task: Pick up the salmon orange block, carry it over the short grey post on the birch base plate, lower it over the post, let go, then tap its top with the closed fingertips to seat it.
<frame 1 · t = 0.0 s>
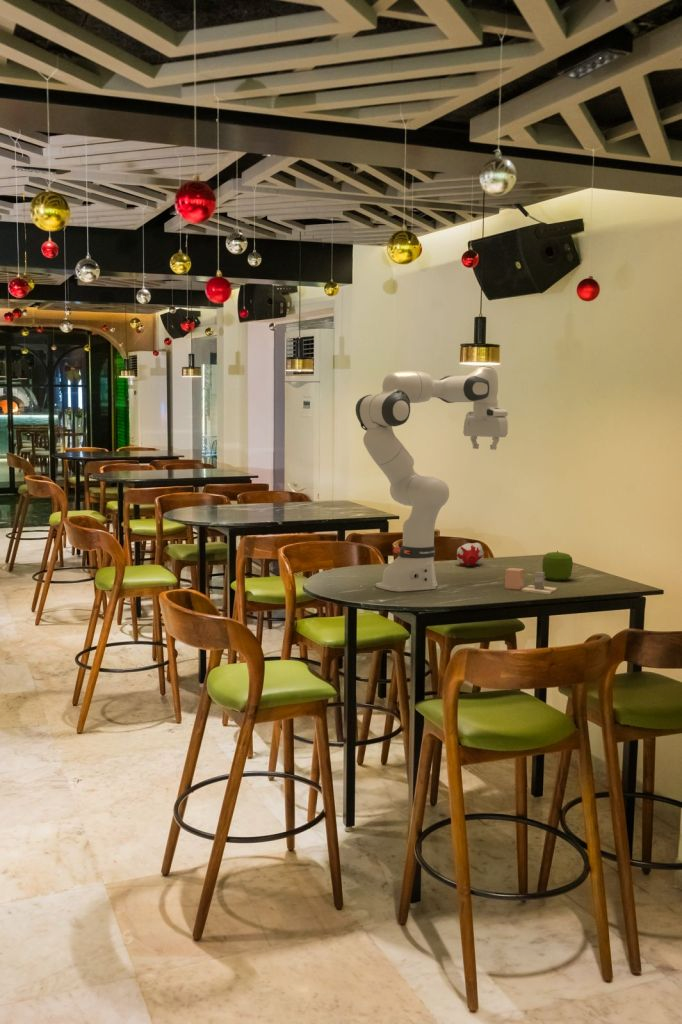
hand: (484, 449, 339), 48 cm above the table, fingers open, 8 cm apart
post stand: (539, 590, 318), on the table
salmon orange block: (514, 587, 323), on the table
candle: (470, 566, 371), on the table
apple: (557, 579, 341), on the table
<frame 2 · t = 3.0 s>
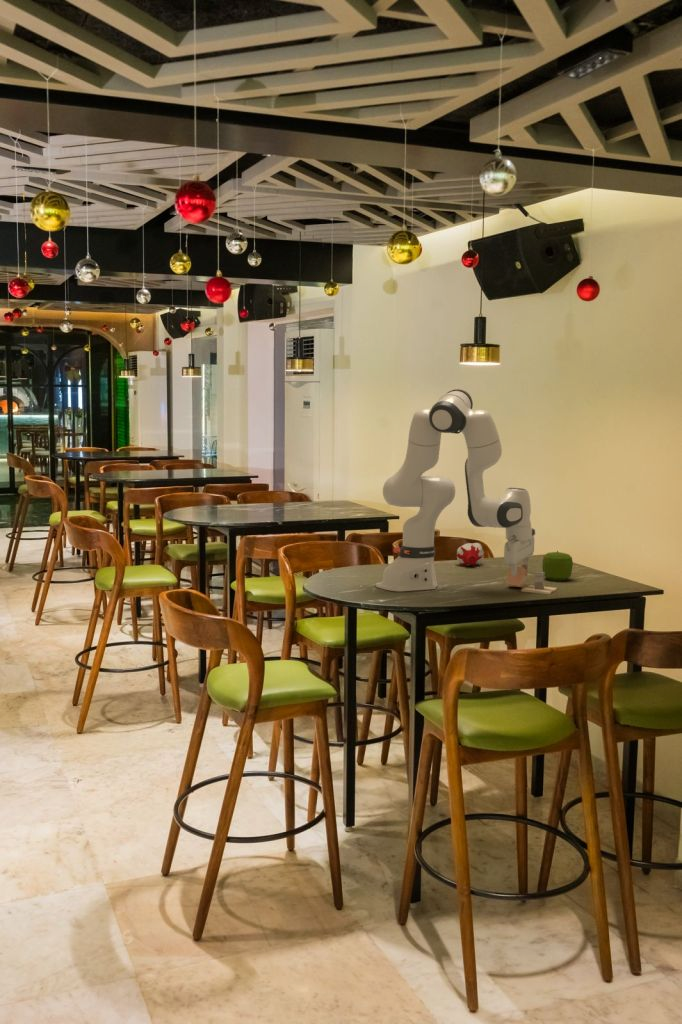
hand: (519, 572, 321), 6 cm above the table, fingers open, 8 cm apart
salmon orange block: (514, 585, 323), point 1 cm above the table, tilted 17°
everything else where it was.
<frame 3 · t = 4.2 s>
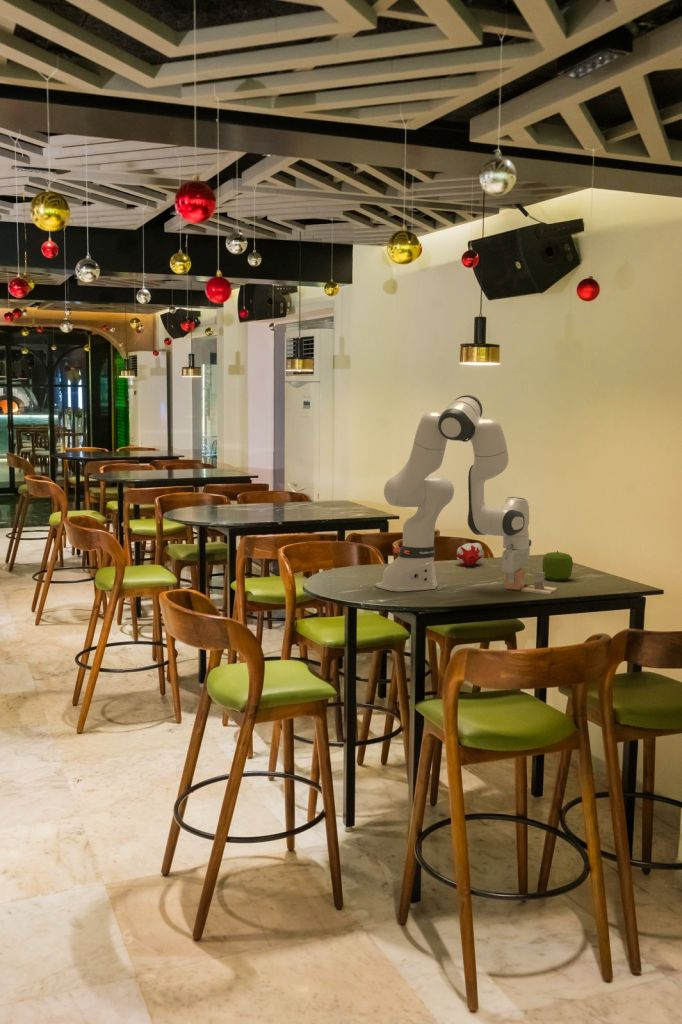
hand: (514, 581, 323), 2 cm above the table, fingers closed on salmon orange block, 5 cm apart
salmon orange block: (514, 587, 323), on the table, touching gripper
everything else where it was.
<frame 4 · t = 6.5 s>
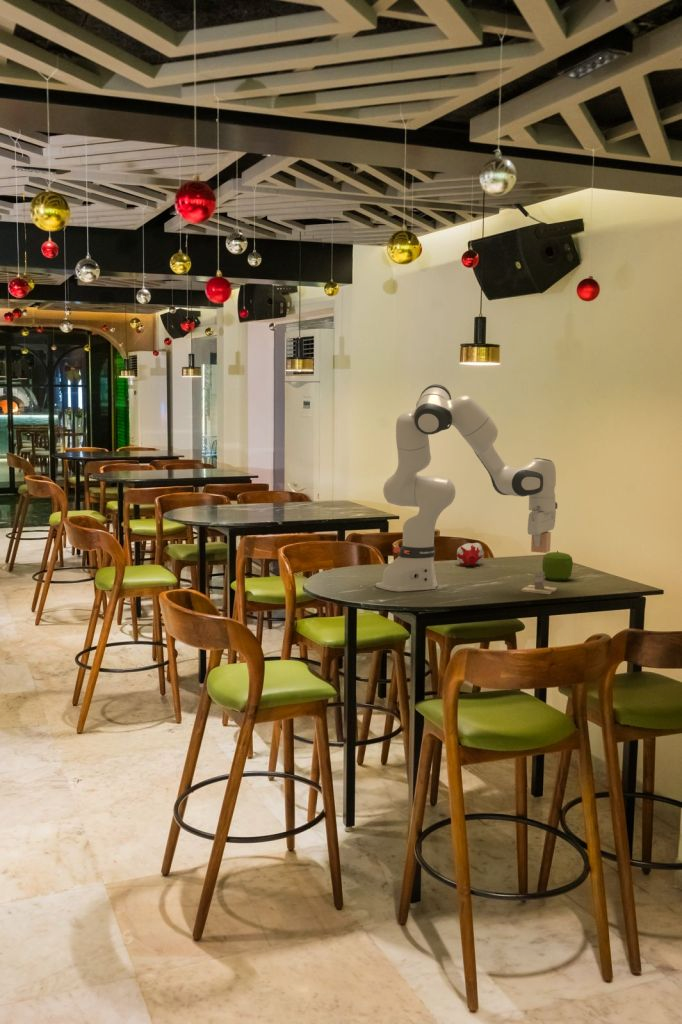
hand: (540, 545, 317), 16 cm above the table, fingers closed on salmon orange block, 5 cm apart
salmon orange block: (540, 551, 317), point 14 cm above the table, touching gripper
everything else where it was.
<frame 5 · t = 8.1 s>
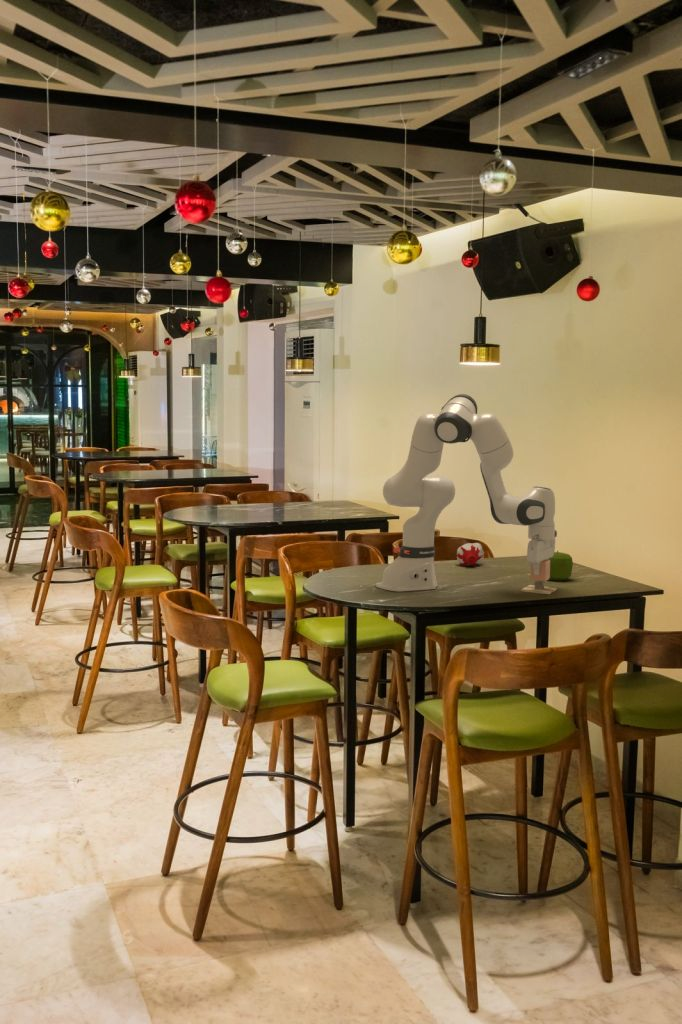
hand: (540, 573, 317), 6 cm above the table, fingers closed on salmon orange block, 5 cm apart
salmon orange block: (540, 579, 317), point 4 cm above the table, touching gripper
everything else where it was.
when the fingers open (4 cm above the table, at t = 9.1 s): salmon orange block drops 1 cm, resting on post stand.
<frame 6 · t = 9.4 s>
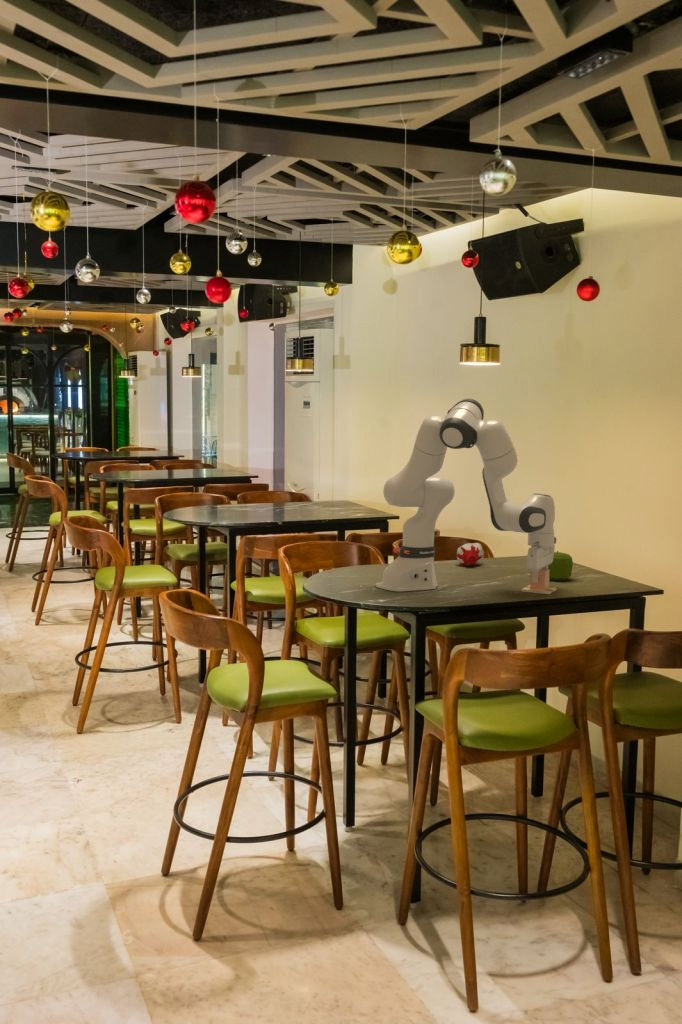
hand: (539, 579, 318), 4 cm above the table, fingers open, 8 cm apart
salmon orange block: (539, 588, 318), point 1 cm above the table, touching post stand
everything else where it was.
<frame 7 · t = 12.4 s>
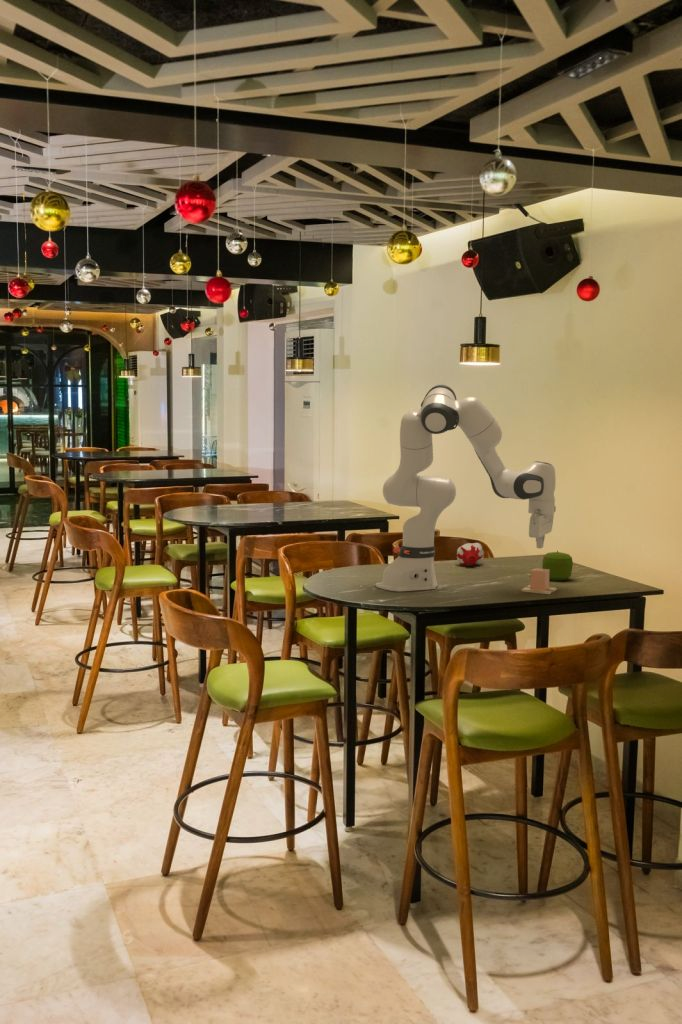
hand: (539, 547, 319), 15 cm above the table, fingers closed
nothing on the table moved.
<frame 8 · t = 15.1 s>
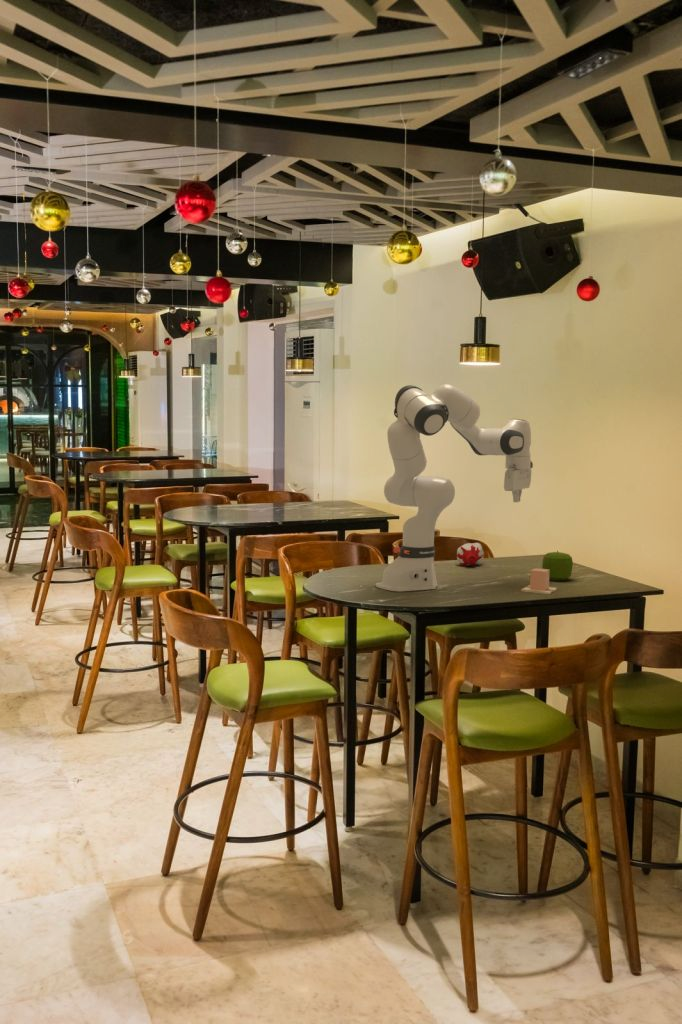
hand: (516, 502, 334), 29 cm above the table, fingers closed
nothing on the table moved.
at the end: salmon orange block 0.1 cm from the post stand (horizontally); salmon orange block point 0.6 cm above the table; the gripper is holding nothing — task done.
